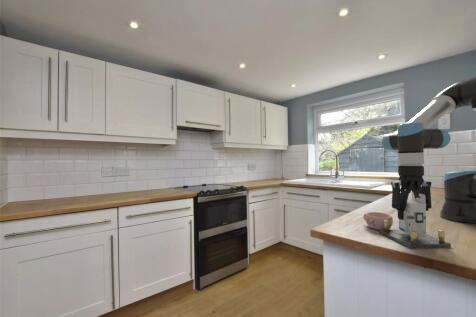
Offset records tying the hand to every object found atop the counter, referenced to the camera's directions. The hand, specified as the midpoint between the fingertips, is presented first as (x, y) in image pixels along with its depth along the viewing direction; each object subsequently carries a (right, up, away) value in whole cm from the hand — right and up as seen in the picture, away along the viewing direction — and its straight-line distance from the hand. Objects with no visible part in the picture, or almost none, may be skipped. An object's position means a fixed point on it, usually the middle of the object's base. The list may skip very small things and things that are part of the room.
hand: (411, 227), depth 81 cm
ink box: (0, -2, 0) cm, 2 cm away
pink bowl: (-4, -5, +14) cm, 15 cm away
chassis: (0, -4, 0) cm, 4 cm away
